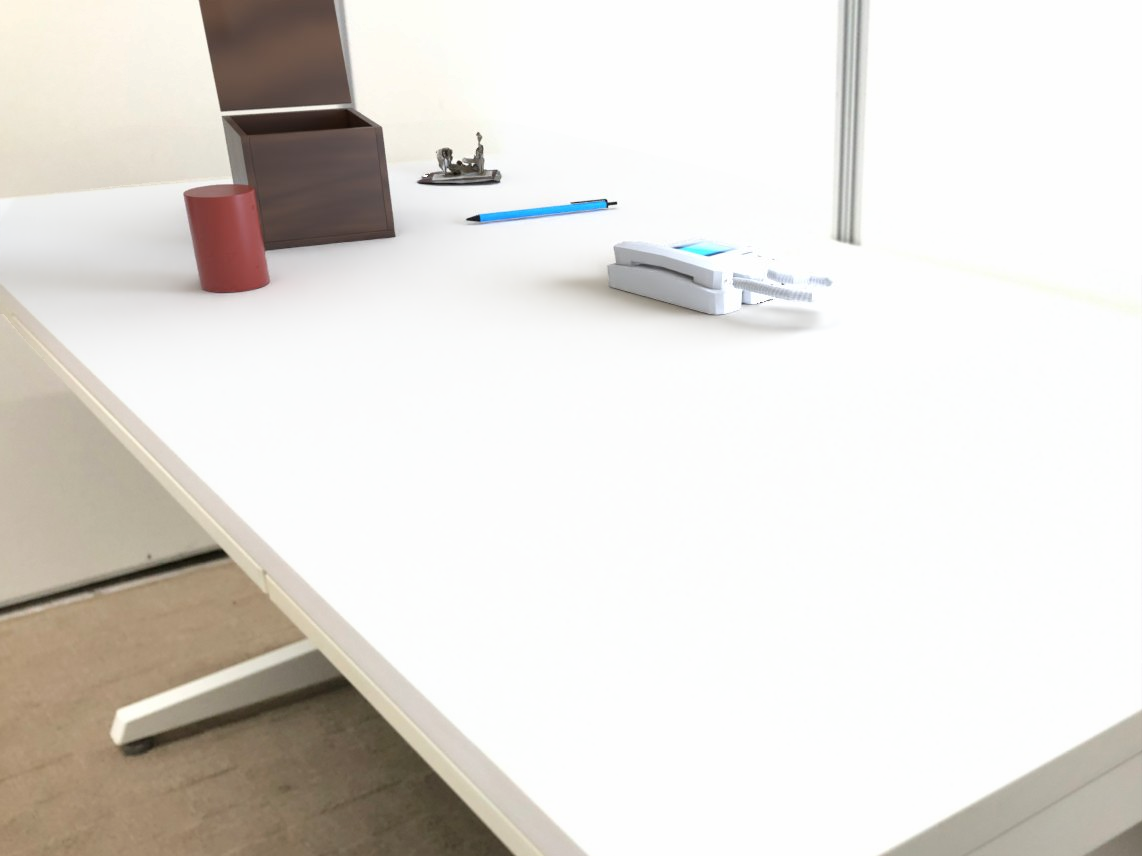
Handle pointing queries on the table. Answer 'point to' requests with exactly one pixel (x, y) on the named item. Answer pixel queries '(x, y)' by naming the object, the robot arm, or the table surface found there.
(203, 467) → the table surface
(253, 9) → the box lid
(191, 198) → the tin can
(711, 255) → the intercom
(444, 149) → the pewter figure scene
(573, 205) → the pen
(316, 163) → the box
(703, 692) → the table surface
